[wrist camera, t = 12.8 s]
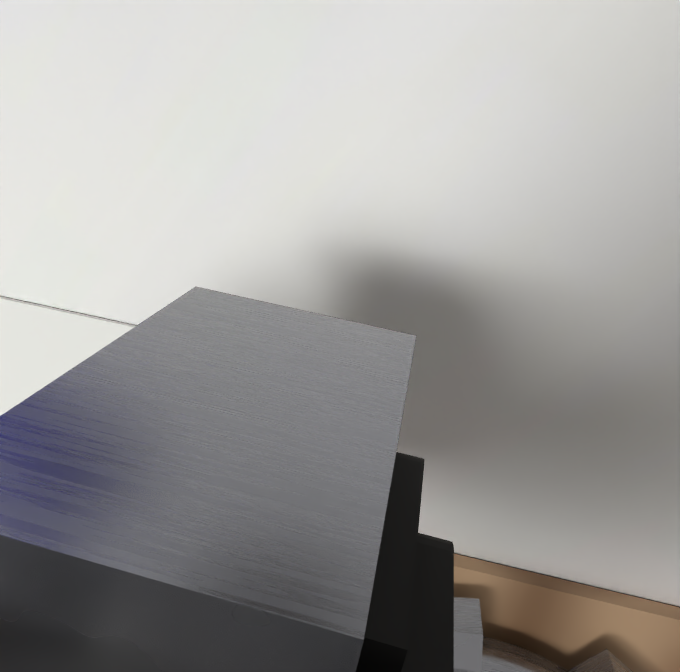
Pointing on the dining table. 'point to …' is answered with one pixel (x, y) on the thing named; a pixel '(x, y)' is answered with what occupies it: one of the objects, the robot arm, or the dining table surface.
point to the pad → (45, 346)
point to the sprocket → (508, 649)
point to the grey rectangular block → (202, 494)
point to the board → (569, 617)
